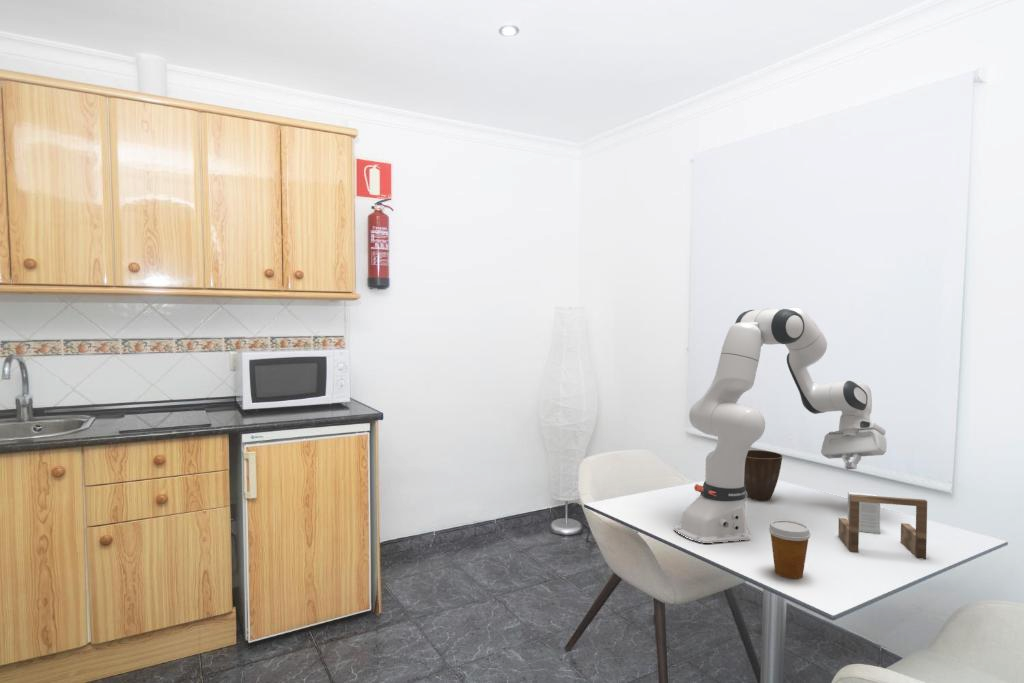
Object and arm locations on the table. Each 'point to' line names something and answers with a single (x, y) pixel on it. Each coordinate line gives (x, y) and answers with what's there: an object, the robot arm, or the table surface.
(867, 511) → the small box
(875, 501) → the wooden archway
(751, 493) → the plant pot
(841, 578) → the table surface
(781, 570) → the disposable coffee cup
